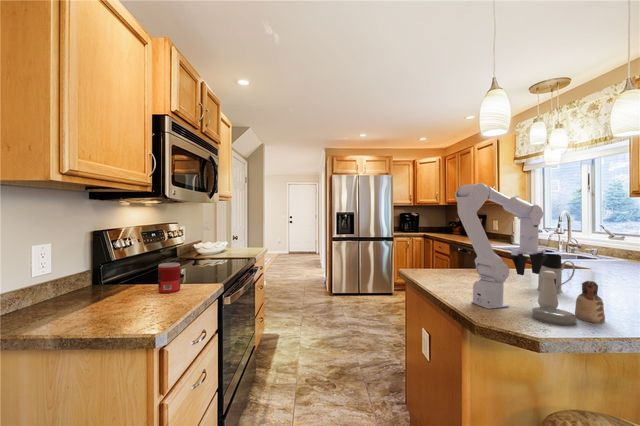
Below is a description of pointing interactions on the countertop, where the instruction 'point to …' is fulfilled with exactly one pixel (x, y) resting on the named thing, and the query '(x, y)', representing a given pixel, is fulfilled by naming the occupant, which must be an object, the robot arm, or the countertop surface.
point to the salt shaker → (548, 290)
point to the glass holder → (554, 270)
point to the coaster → (554, 316)
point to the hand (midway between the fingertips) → (528, 274)
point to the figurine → (590, 304)
